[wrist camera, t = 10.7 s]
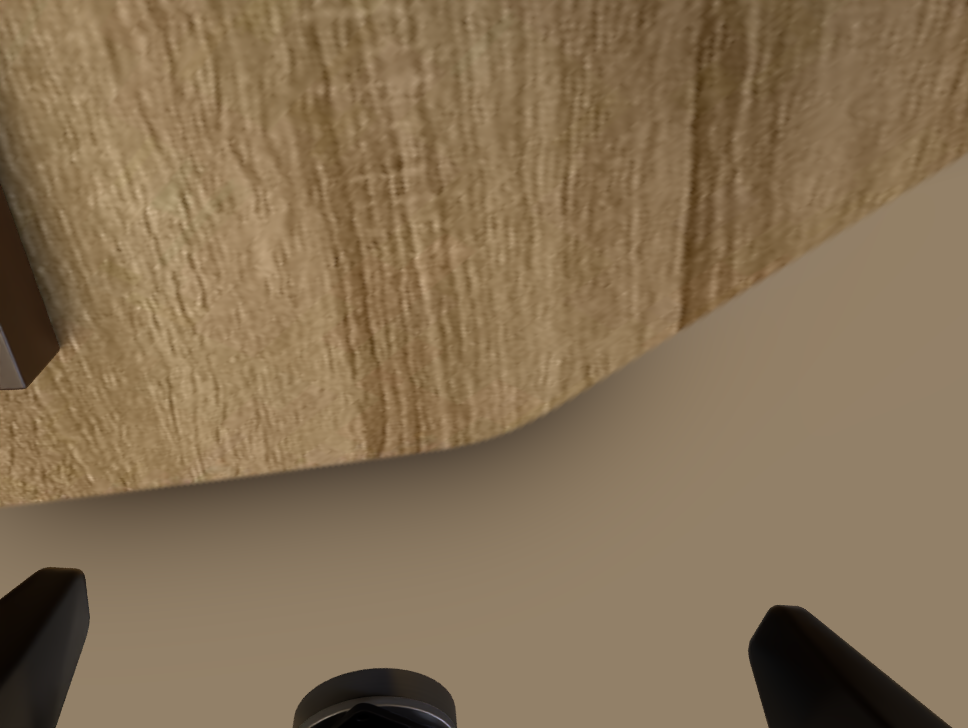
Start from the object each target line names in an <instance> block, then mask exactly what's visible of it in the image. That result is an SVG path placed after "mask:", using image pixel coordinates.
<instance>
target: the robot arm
mask: <svg viewBox="0 0 968 728" xmlns="http://www.w3.org/2000/svg"><path fill="white" fill-rule="evenodd" d="M87 598H88V597H87V589H86V580H85V575H84V573H83V572H82V571H81V570H79V569H75V568H74V569H73V568H56V567H47V568H43V569H41V570H39V571H37V572H35V573H34V574H33V575H31V576H30V577H29V578H27V579H26V580H25V581H24V582H22V583H21V584H20V585H18V586H17V587H16V588H14V589H13V590H12V591H10V592H9V593H8V594H7V595H5V596H4V597H3V598H1V599H0V728H55V727H56V725H57V722H58V719H59V716H60V713H61V710H62V707H63V704H64V701H65V698H66V695H67V692H68V689H69V686H70V684H71V681H72V677H73V675H74V672H75V669H76V666H77V663H78V660H79V657H80V654H81V651H82V648H83V645H84V642H85V639H86V636H87V632H88V628H89V619H90V615H89V607H88V599H87ZM748 652H749V659H750V664H751V667H752V671H753V674H754V678H755V681H756V685H757V688H758V692H759V695H760V699H761V702H762V706H763V709H764V713H765V716H766V720H767V723H768V727H769V728H952V727H950V726H949V725H948V724H947V723H946V722H944V721H943V720H942V719H940V718H939V717H938V716H937V715H936V714H934V713H933V712H932V711H931V710H929V709H928V708H927V707H926V706H925V705H923V704H922V703H921V702H920V701H918V700H917V699H916V698H915V697H913V696H912V695H911V694H910V693H908V692H907V691H906V690H905V689H903V688H902V687H901V686H900V685H898V684H897V683H896V682H895V681H894V680H892V679H891V678H890V677H889V676H887V675H886V674H885V673H884V672H882V671H881V670H880V669H879V668H877V667H876V666H875V665H874V664H872V663H871V662H870V661H869V660H868V659H866V658H865V657H864V656H863V655H861V654H860V653H859V652H858V651H856V650H855V649H854V648H853V647H852V646H850V645H849V644H848V643H847V642H845V641H844V640H843V639H842V638H840V637H839V636H838V635H837V634H835V633H834V632H833V631H832V630H830V629H829V628H828V627H827V626H826V625H824V624H823V623H822V622H821V621H819V620H818V619H817V618H816V617H814V616H813V615H812V614H811V613H809V612H808V611H807V610H806V609H804V608H802V607H799V606H788V605H775V606H773V607H771V608H770V609H769V610H768V612H767V613H766V615H765V617H764V618H763V620H762V622H761V623H760V625H759V627H758V628H757V630H756V632H755V633H754V635H753V636H752V638H751V640H750V643H749V648H748ZM329 728H433V727H430V726H428V725H425V724H422V723H420V722H417V721H415V720H412V719H409V718H407V717H404V716H402V715H399V714H396V713H394V712H391V711H389V710H386V709H383V708H381V707H378V706H375V705H373V704H370V703H359V704H356V705H355V706H353V707H352V708H351V709H350V710H349V711H348V712H346V713H345V714H344V715H343V716H342V717H340V718H339V719H338V720H337V721H336V722H335V723H333V724H332V725H331V726H330V727H329Z"/></svg>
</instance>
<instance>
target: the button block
mask: <svg viewBox="0 0 968 728" xmlns="http://www.w3.org/2000/svg"><path fill="white" fill-rule="evenodd" d="M59 350H60V347H59V345H58V342H57V339H56V336H55V334H54V331H53V328H52V325H51V323H50V320H49V317H48V314H47V311H46V309H45V306H44V303H43V300H42V298H41V295H40V292H39V289H38V287H37V284H36V281H35V278H34V276H33V273H32V270H31V267H30V265H29V262H28V259H27V256H26V253H25V251H24V248H23V245H22V242H21V240H20V237H19V234H18V231H17V229H16V226H15V223H14V220H13V218H12V215H11V212H10V209H9V207H8V204H7V201H6V198H5V195H4V193H3V190H2V187H1V184H0V390H17V389H25V388H27V387H28V386H29V385H30V384H31V383H32V382H33V380H34V379H35V378H36V377H37V376H38V375H39V373H40V372H41V371H42V370H43V369H44V368H45V367H46V365H47V364H48V363H49V362H50V361H51V360H52V359H53V357H54V356H55V355H56V354H57V353H58V352H59Z"/></svg>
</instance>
